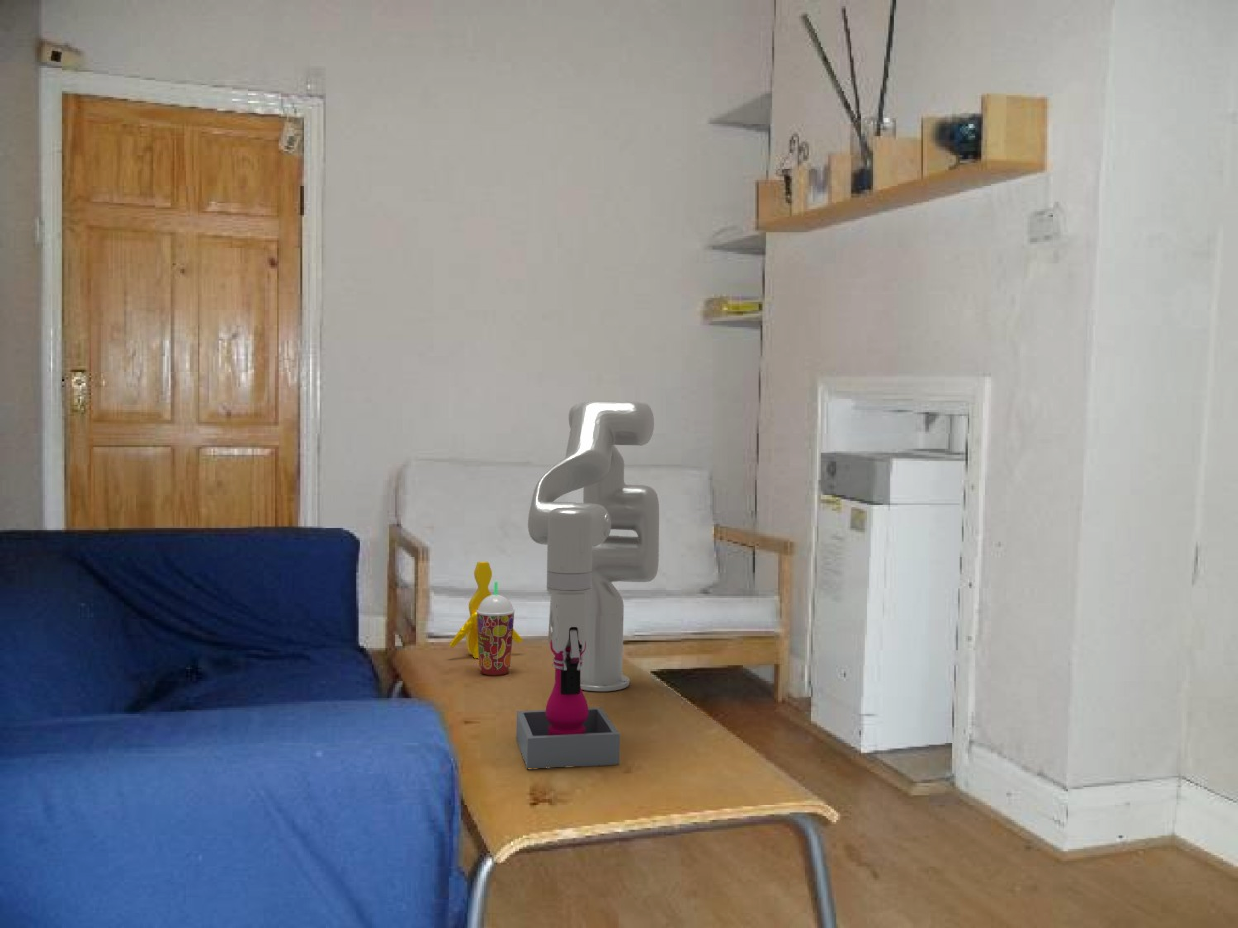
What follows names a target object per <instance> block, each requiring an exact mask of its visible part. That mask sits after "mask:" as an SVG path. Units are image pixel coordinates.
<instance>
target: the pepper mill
mask: <svg viewBox="0 0 1238 928" xmlns="http://www.w3.org/2000/svg"><path fill="white" fill-rule="evenodd" d="M579 646H580V647H582V645H580V642H579ZM549 647H550V650H551V652H552V653H553V655H554V657H553V659H552V661H553V663H552V666H553V668H554V671H555V670H556V680H555V679H554V685H553V688H552V691H551V693H550V696H549V697H548V700H547V703H546V706H545V710H546V713H545V714H546V718H547V719H548V721H549V722H550V723H551V725H550V726H549V727H548V735H569V734H585V727H584V726H583V725H582V724H583V723H584V722H585V721H586V719H587V717H588V714H589V713H588V708H589V706H588V702H587V699H586V696H585V695H584V692H583V690H582V689H581V686H580V693H579V694H571V695H562V694H561V692H560V689H561V670H563V661H562V652H563V651H560V653H556V652H555V651H554V650H553V648H552V640H551V642H550V643H549ZM585 649H586V640H585ZM585 649H584V651H585ZM565 651H570V647H567V648H565ZM580 651H581V650H580ZM584 651H583V652H581V653H580V668H581V667H582V666H583V664H582V661H583V658H581V655H582V654H583V653H584ZM568 657H570V655H567V659H568Z"/></svg>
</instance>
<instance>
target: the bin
mask: <svg viewBox="0 0 1238 928" xmlns="http://www.w3.org/2000/svg"><path fill="white" fill-rule="evenodd" d="M545 713H546V709H539V710H538V709H537V710H533V709H532V710H517V711H516V730H515V731H516V733H515V734H516V736H515V739H517V740H516V742H518V743H517V745H519V746H518V748H519V747H520V748H519V751H520V750H521V751H520V754H521V753H522V754H521V756H523V757H522V759H523V758H524V760H523V762H524V761H525V762H524V764H526V765H525V767H527V768H546V767H547V769H549V768H548V767H565V768H567V767H566V766H582V767H598V766H599V765H600V766H613V765H614V766H615V765H617V764H618V765H620V751H621V750H620V749H621V747H620V746H621V745H620V743H621V742H620V741H621V739H620V738H621V733H620V732H619V731H618V729H617V728H616V726H615V725H614V724H613V722H612V721H611V719H610V717H608V715H607V713H606V712H605V710H604V708H602V707H588V713H589V714H588V717H587V719H586V721H585V722H584V723H583V724H582V725H583V726H584V727H585V734H569V735H548V727H549V726H550V725H551V723H550V722H549V721H548V719H547V718H546V714H545ZM527 768H526V769H527Z"/></svg>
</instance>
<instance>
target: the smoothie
mask: <svg viewBox="0 0 1238 928" xmlns="http://www.w3.org/2000/svg"><path fill="white" fill-rule="evenodd" d="M493 589H494V591H493V593H494V594H491V595H490V596H488V597H486V598H485V599H484V600H483V601H482V602H481V603H480V606H479V608H478V609H477V611H476V613H477V628H478V650H479V659H478V667H479V668H480V669H481V674H484V675H485V674H486V676H503V675H505V674H507V673H508V670H509V668H511V659H512V657H511V656H512V645H513V639H512V636H513V629H514V623H515V622H514V620H515V612H516V611H515V609H514V607H513V605H512V603H511V601H510V599H508V598H507V597H505V595H502V594H498V581H494V586H493Z"/></svg>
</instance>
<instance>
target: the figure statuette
mask: <svg viewBox="0 0 1238 928" xmlns="http://www.w3.org/2000/svg"><path fill="white" fill-rule="evenodd" d="M473 575H474V580H475V582H476V585H477V590H476V591H475V593H474V594H473V595H472V597H471V599H469V602H468V611H469V618H468V619H467V620H466V622H465V623H464V624H463V625H462V626H461V628H460V629H459V630H458V632H457V633H456V635H455V636H454V638H453V639H452V640H451V641H450V643H449V644H448V646H449V647H450V648H452V649H454V648H455V647H456V646H457V645H458V644H459V643H460V642H461V641H462V640H463V639H464V638H465V637H466V638H465V643H466V645H465V646H466V649H467V651H468V654H469V655H470V654H471V655H472V657H474V659H476V658H479V650H478V628H477V613H476V611H477V609H478V608H479V606H480V603H481V602H482V601H483V600H484V599H485V598H486V597H488V596H490V595H492V593H491V592H490V590H489V585H490V583H491V580H492V577H493V572H492V568H491V565H490V563H489V562H488V561H477V563H476V565H475V568H474V572H473ZM523 640H524V639H522V637H521V636H520V634H518V632H517V631H516V630H515V629H514V628H513V636H512V641H514V642H515V643H516V644H520V643H522V642H523Z"/></svg>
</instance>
